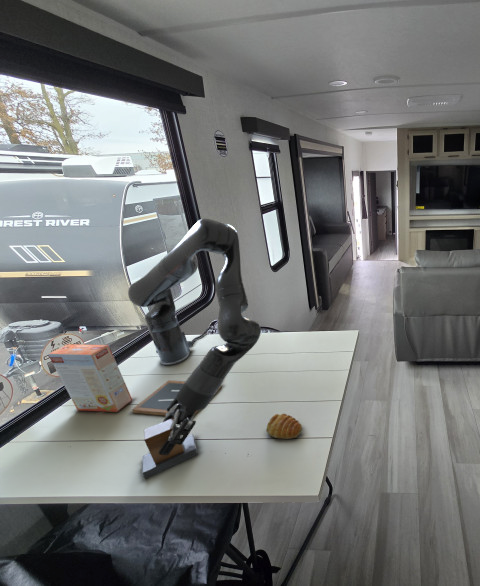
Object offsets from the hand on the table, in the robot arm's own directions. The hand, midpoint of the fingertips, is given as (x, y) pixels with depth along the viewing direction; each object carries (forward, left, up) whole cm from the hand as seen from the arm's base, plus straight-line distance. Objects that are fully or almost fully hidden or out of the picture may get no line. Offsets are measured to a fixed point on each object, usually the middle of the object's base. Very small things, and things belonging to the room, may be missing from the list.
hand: (162, 442), depth 76 cm
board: (-20, -15, -6) cm, 26 cm away
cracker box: (-15, -37, -6) cm, 40 cm away
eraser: (0, 0, -6) cm, 6 cm away
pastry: (-12, +25, -6) cm, 29 cm away
